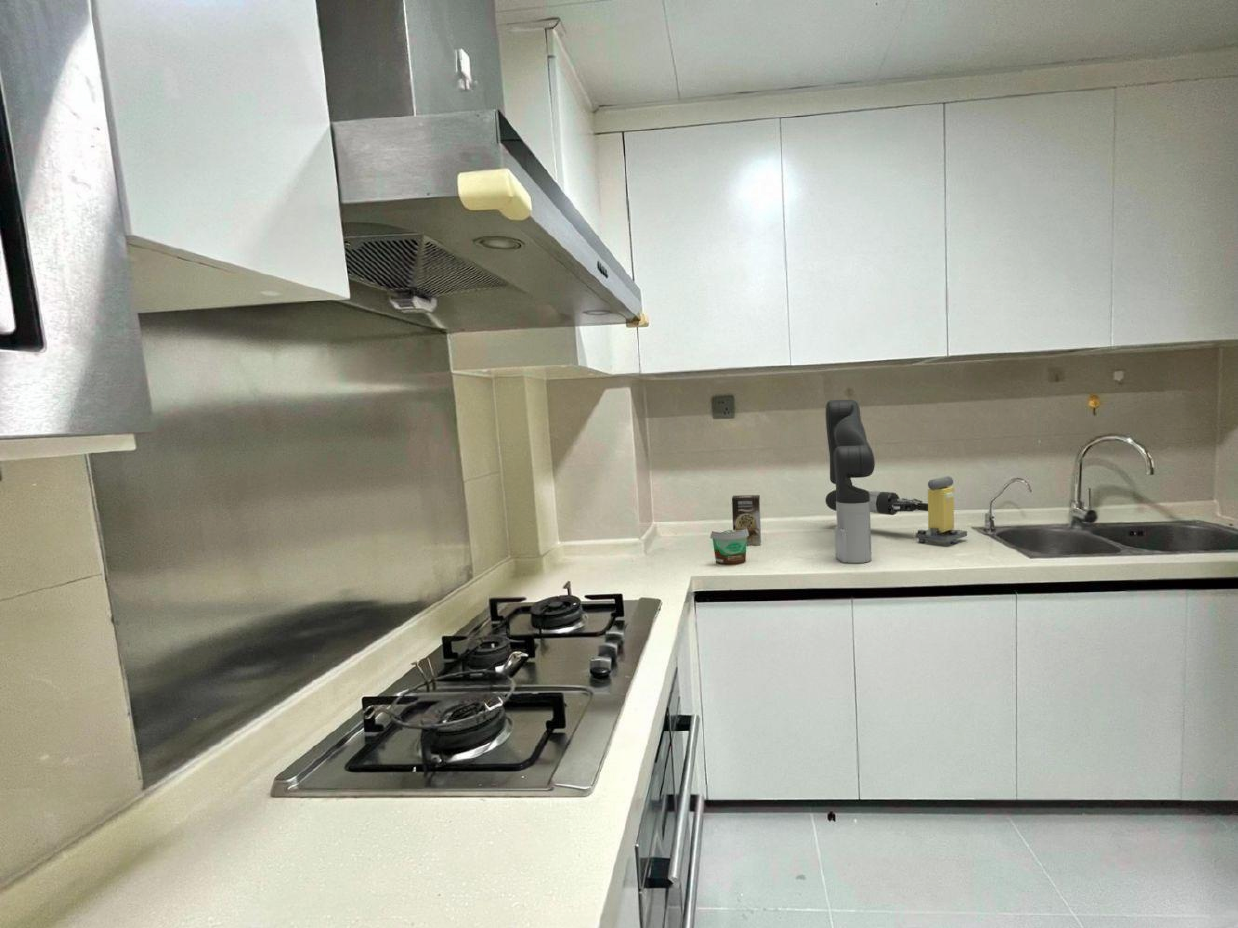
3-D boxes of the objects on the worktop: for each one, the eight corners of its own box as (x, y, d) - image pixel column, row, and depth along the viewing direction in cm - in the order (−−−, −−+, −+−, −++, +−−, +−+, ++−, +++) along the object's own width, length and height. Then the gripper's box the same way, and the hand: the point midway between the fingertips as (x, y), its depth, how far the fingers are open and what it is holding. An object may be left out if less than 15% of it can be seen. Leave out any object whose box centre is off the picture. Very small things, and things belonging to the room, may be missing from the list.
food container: (722, 568, 193) (720, 534, 192) (711, 564, 198) (710, 531, 197) (758, 562, 197) (756, 529, 196) (746, 558, 203) (745, 526, 202)
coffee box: (733, 545, 221) (730, 497, 219) (734, 541, 227) (732, 495, 225) (761, 545, 218) (759, 497, 217) (761, 541, 225) (759, 494, 223)
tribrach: (947, 547, 201) (946, 531, 200) (915, 542, 209) (915, 527, 208) (967, 540, 208) (966, 524, 207) (936, 536, 216) (935, 521, 215)
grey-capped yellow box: (943, 535, 203) (942, 480, 201) (925, 532, 207) (925, 479, 206) (958, 530, 208) (957, 476, 206) (940, 528, 213) (940, 475, 211)
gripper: (869, 494, 220) (919, 498, 206) (892, 489, 227) (941, 493, 213) (870, 516, 221) (919, 522, 206) (892, 510, 228) (942, 516, 214)
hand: (930, 507), depth 210 cm, fingers closed
